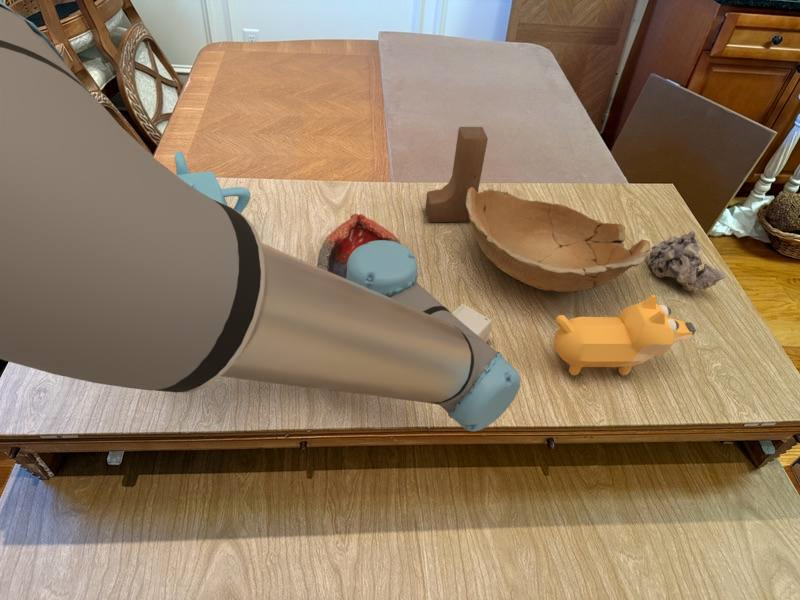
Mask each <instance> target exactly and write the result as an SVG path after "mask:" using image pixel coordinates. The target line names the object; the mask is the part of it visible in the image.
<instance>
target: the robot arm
mask: <svg viewBox="0 0 800 600" xmlns="http://www.w3.org/2000/svg"><path fill="white" fill-rule="evenodd" d="M418 278H419V273H418V263H417V259H416V257H415V255H414V252H412V251H411V249H409V248H408V247H407V246H405V245H404V244H402V243H401V244H399V243H396V242H393V241H386V240H378V241H371V242H368V243H367V244H363V245H361V246H359V247H358V248H356V249H355V250H354V251H353V252H352V253H351V255H350V257H349V259H348V262H347V278H346V279H345V278H343V277H340V276H338V275H336V274H333V273H331V272H329V271H326V270H324V269H321V268H319V267H317V265H314V264H312V263H310V262H307V261H305V260H303V259H300V258H298V257H296V256H293V255H291V254H289V253H286V252H284V251H282V250H280V249H277V248H274V247H272V246H270V245H267V244H265V243H263V242H261V239H260V236H259V234H258V232H257V230H256V229H255V227H254V225H253V224H252V223H251V221H250V220H249V219H248V217H246V216H245V215H244V214H243V213H242V212H241V213H240V212H238V211H236V210H234V207H231V206H229V205H228V206H226V205H224V204H222V203H220V202H217V201H215V200H213V199H211V198H210V197H208V196H206V195H204V194H203V193H201V192H199V191H198V190H196V189H195V188H193V187H192V186H190V185H189V184H187V183H186V182H184V181H183V180H182V179H180V178H179V177H178V176H176V173H174V172H173V171H172V170H170V169H169V168H168V167H166V165H164V164H163V163H161V162H160V161H159V160H157V159H156V158H155V157H154V156H153V155H152V154H151V153H150V152H149V151H148V150H147V149H145V147H144V146H143V145H141V143H140V142H138V141H137V140H136V139H135V138H134V137H133V136H132V135H131V134H130V133H129V132H127V130H125V128H123V127H122V126H121V124H119V122H118V121H117V120H116V119H115V118H114V117H113V116H112V114H111V113H110V112H109V111H108V110H107V109H106V108H105V106H104V105H102V103H101V102H99V100H98V99H97V98H96V97H95V96H94V95H93V94H92V93H91V92H90V90H88V88H87V87H86V86H84V83H82V82H81V80H79V78H78V77H77V76H76V75H75V74H74V73H73V71H72V70H71V69H70V67H68V64H67V63H66V62H65V60H64V58H63V56H62V55H61V53H60V50H58V48H56V46H55V45H54V44H53V42H52V41H51V40H50V38H48V36H47V35H46V34H45V33H44V32H42V31H41V30H40V28H38V26H37V25H35V23H34V22H32V21H30V20H28V19H27V18H25V17H24V16H22V15H21V14H18V13H17V12H16V11H14V10H13V9H12V8H10V6H8V5H7V4H6V3H4V2H2V1H1V0H0V360H1V361H6V362H8V363H11V364H12V363H13V364H15V365H20V366H24V367H27V368H31V369H34V370H38V371H41V372H45V373H48V374H53V375H55V376H60V377H64V378H65V377H66V378H70V379H74V380H80V381H85V382H89V383H94V384H99V385H107V386H113V387H119V388H127V389H134V390H143V391H150V392H151V391H156V392H166V393H176V394H177V393H182V394H183V393H185V394H187V393H190V392H196V391H198V390H201V389H203V388H206V387H208V386H209V385H211V384H213V383H214V382H216V381H217V380H218V379H219V378H221V377H222V378H223V377H224V378H230V379H238V380H244V381H245V380H246V381H253V382H262V383H269V384H276V385H277V384H278V385H284V386H292V387H301V388H307V389H317V390H324V391H331V392H332V391H333V392H338V393H339V392H340V393H346V394H353V395H362V396H371V397H377V398H385V399H392V400H393V399H395V400H402V401H410V402H417V403H425V404H431V405H437V406H440V407H441V408H442V409H443V410H444V411H445V412H446V414H447V416H448V417H449V418H450V419H453V420H454V421H455V422H456V423H457V424H458V425H459V426H461V427H462V429H464V430H466V431H467V432H468V431H469V432H479V431H481V430H483V429H486V428H487V427H489V426H490V425H492V424H493V423H495V421H497V420H498V419H499V418H500V417H501V416H502V415H503V414H504V413H505V412H506V411H507V409H508V408H509V407H510V406H511V405H512V403H513V401H514V400H515V399H516V397H517V395H518V393H519V391H520V388H521V375H520V372H519V371H518V370H517V369H516V368H515V367H514V366H513V365H512V363H510V362H509V361H508V360H507V359H505V358H504V356H503V353H501V352H500V351H497V350H496V349H494V348H493V347H492V346H491V345H490V344H488V343H487V342H485V341H484V340H482V339H481V338H480V337H479V336H478V335H476V334H475V333H474V332H473V331H472V330H470V329H469V328H468V327H467V326H466V325H465V324H463V323H462V322H461V321H460V320H459V319H457V318H456V317H455V316H454V315H453V314H452V313H453V312H451V311H450V310H449V309H448V307H446V306H445V305H444V304H443V303H442V302H440V301H439V300H438V299H437V298H436V297H434V296H433V294H431V293H430V292H429V291H427V290H426V288H424V287H422V285H420V284H419V283H418V280H417V279H418Z"/></svg>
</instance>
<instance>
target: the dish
mask: <svg viewBox="0 0 800 600" xmlns="http://www.w3.org/2000/svg"><path fill="white" fill-rule="evenodd" d="M378 240H386V241H393V242H396V243H399V244H402V243H401V242H400V240H399V239H398V238H397V237H396V236H395V235H394V234H393V233H392V232H391V230H388V229H386V228H385V227H384V226H382V225H380V224H379V223H378V222H376V221H375V220H373V219H370V218H368V217H367V216H366V215H365V214H363V213H359V214H358V213H353V214H351V215H350V218H349V219H348V220H346V221H344V222H342V223H341V224H339V225H338V226H337V227H336V228H334V230H332V231H331V233H330V234H328V236H327V237H326V238H325V240H324V242H323V243H322V246H321V248H320V251H319V254H318V258H317V263H316V266H317V267H319V268H321V269H324V270H326V271H329V272H331V273H333V274H336V275H338V276H340V277H343V278H345V279H346V278H347V262H348V259H349V257H350V255H351V253H352V252H353V251H354V250H355V249H356V248H358V247H359V246H361V245H363V244H367V243H368V242H371V241H378Z"/></svg>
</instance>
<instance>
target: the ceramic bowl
mask: <svg viewBox="0 0 800 600" xmlns="http://www.w3.org/2000/svg"><path fill="white" fill-rule="evenodd" d="M466 197H467V198H466V209H467V210H468V214H469V218H470V222H469V223H470V227H471V230H472V232H473V235H474V237H475V240H476V242H477V243H478V246H479V247H480V248H481V251H482V252H483V253H484V255H485V257H487V258H488V260H489V261H490V262H492V263H493V264H494V265H495V267H497V268H498V269H500V270H501V271H502V272H503V273H505V274H507V275H508V276H510V277H511V278H513V279H516V280H518V281H520V282H521V283H523V284H525V285H527V286H531V287H533V288H536V289H539V290H542V291H551V292H561V293H562V292H563V293H570V292H581V291H585V290H589V289H593V288H596V287H599V286H600V285H601V286H602V285H604V284H606V283H608V282H610V281H613V280H614V279H616V278H618V277H619V276H621V275H622V274H623V273H625V272H627V271H628V270H629V269H631V268H632V267H638V266H639V265H641V264H643V263H645V261H646V259H647V258H648V259H649V256H650V253H649V252H651V244H650V242H651V241H650V240H647V239H642V238H641V240H640V241H638V242H637V243H635V244H633V245H632V246H631V247H630V249H627V248H626V247H625V243H624V242H625V241H626V231H625V230H626V227H625V226H624V225H623V224H620V223H610V222H603V221H601V220H599V219H595V218H592V217H589V216H587V215H586V214H584V213H582V212H581V211H578V210H575V209H573V208H571V207H569V206H567V205H565V204H562V203H551V202H547V201H541V200H528V199H524V198H523V199H522V198H520V197H518V196H516V195H515V194H511V193H510V192H508V191H500V190H495V189H492V188H487V189H486V190H483V191H479V192H478V193H477V191H475V189H474V188H473V187H471V188H469V189H468V191H467V196H466Z"/></svg>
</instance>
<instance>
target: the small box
mask: <svg viewBox="0 0 800 600" xmlns="http://www.w3.org/2000/svg"><path fill="white" fill-rule="evenodd" d="M451 313H452V314H453V315H454V316H455V317H456V318H457V319H459V320H460V321H461V322H462V323H463V324H465V325H466V326H467V327H468V328H469V329H470V330H472V331H473V332H474V333H475V334H476V335H478V336H479V337H480V338H481V339H482V340H484V341H485V342H486V343H487V342H488V341H489V336H490V333H491V332H490V331H491V328H492V323H493V320H492V319H490V318H489V317H487V316H485V315H483V314H482V313H480V312H478V311H476V310H475V309H473V308H471V307H470V306H468V305H465V304H464V303H461V304H460V305H459V306H458V307H456V308H455V310H453V312H451Z"/></svg>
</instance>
